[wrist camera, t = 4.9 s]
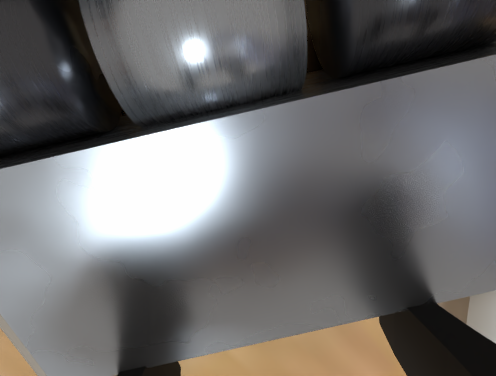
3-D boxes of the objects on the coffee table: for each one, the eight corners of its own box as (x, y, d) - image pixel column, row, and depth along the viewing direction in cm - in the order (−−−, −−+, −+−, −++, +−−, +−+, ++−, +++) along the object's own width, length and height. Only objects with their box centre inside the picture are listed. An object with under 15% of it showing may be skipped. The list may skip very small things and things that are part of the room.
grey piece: (446, -106, 7) (602, -206, 4) (430, 228, 11) (506, 294, 8) (-68, 15, 7) (-257, -1, 4) (95, 303, 11) (53, 395, 8)
